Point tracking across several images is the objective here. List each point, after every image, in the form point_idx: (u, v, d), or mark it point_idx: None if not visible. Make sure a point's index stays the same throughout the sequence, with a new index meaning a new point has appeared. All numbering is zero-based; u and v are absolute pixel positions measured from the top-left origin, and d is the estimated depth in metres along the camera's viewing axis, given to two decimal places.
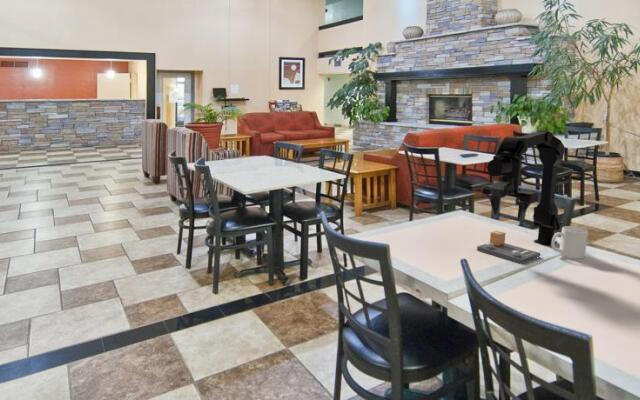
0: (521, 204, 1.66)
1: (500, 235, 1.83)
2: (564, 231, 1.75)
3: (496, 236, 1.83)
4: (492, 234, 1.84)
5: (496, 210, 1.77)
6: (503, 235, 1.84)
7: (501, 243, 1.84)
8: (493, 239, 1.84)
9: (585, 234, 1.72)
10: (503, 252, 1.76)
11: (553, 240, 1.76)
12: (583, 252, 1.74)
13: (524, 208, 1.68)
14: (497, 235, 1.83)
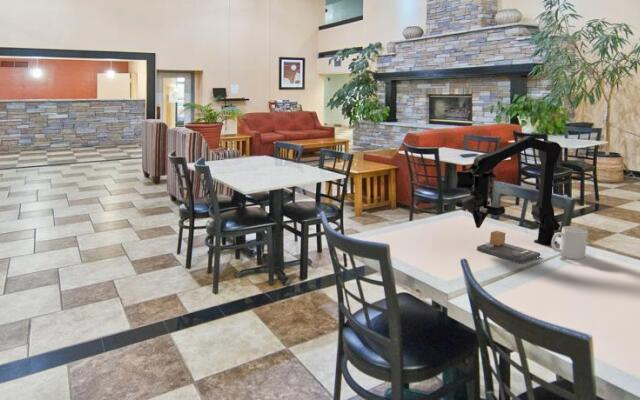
0: (479, 214, 1.87)
1: (500, 235, 1.83)
2: (564, 231, 1.75)
3: (496, 236, 1.83)
4: (492, 234, 1.84)
5: None
6: (503, 235, 1.84)
7: (501, 243, 1.84)
8: (493, 239, 1.84)
9: (585, 234, 1.72)
10: (503, 252, 1.76)
11: (553, 240, 1.76)
12: (583, 252, 1.74)
13: (483, 217, 1.90)
14: (497, 235, 1.83)
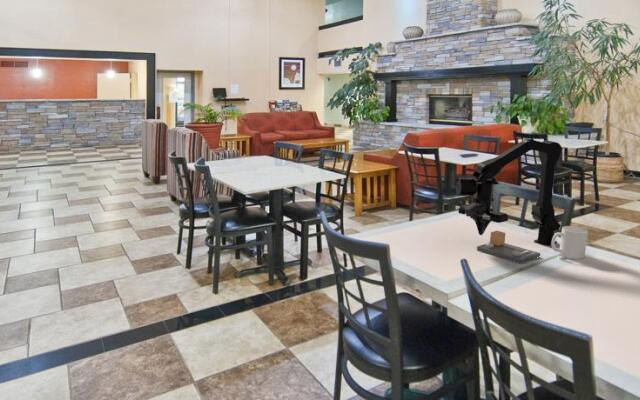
0: (482, 221, 1.87)
1: (500, 235, 1.83)
2: (564, 231, 1.75)
3: (496, 236, 1.83)
4: (492, 234, 1.84)
5: None
6: (503, 235, 1.84)
7: (501, 243, 1.84)
8: (493, 239, 1.84)
9: (585, 234, 1.72)
10: (503, 252, 1.76)
11: (553, 240, 1.76)
12: (583, 252, 1.74)
13: (485, 224, 1.89)
14: (497, 235, 1.83)
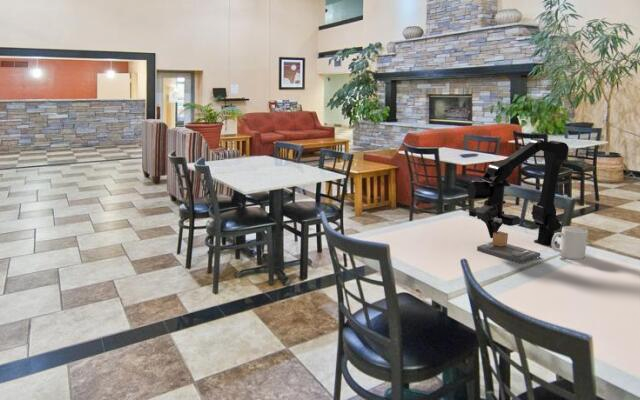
0: (493, 224, 1.83)
1: (503, 236, 1.82)
2: (564, 231, 1.75)
3: (498, 237, 1.82)
4: (494, 235, 1.83)
5: None
6: (506, 236, 1.83)
7: (503, 244, 1.83)
8: (495, 240, 1.83)
9: (585, 234, 1.72)
10: (503, 252, 1.76)
11: (553, 240, 1.76)
12: (583, 252, 1.74)
13: (497, 227, 1.85)
14: (499, 236, 1.82)
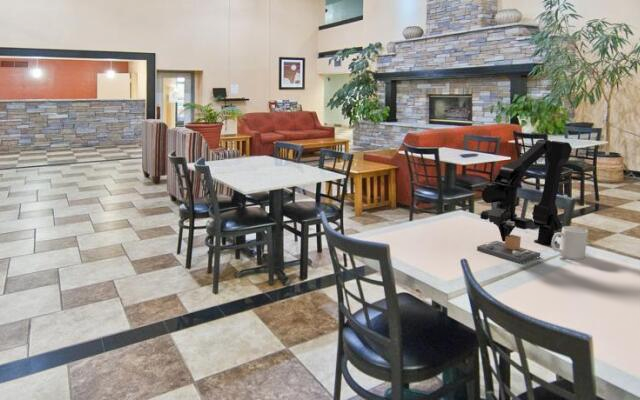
0: (506, 227, 1.79)
1: (515, 239, 1.78)
2: (564, 231, 1.75)
3: (511, 240, 1.78)
4: (507, 238, 1.79)
5: None
6: (518, 239, 1.79)
7: (516, 247, 1.79)
8: (508, 243, 1.79)
9: (585, 234, 1.72)
10: (503, 252, 1.76)
11: (553, 240, 1.76)
12: (583, 252, 1.74)
13: (509, 231, 1.81)
14: (512, 239, 1.78)
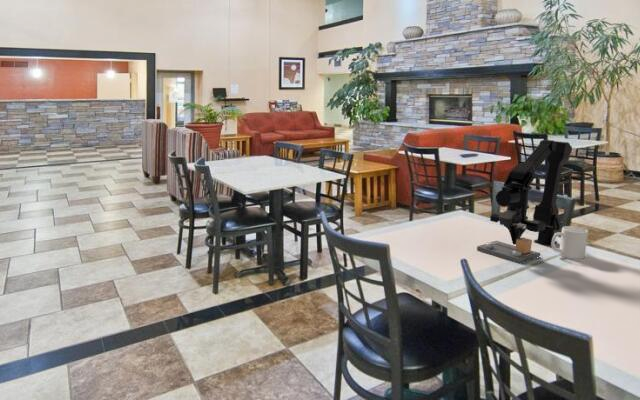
0: (517, 230, 1.75)
1: (526, 242, 1.74)
2: (564, 231, 1.75)
3: (522, 243, 1.75)
4: (518, 241, 1.76)
5: None
6: (529, 242, 1.76)
7: (527, 250, 1.76)
8: (519, 246, 1.76)
9: (585, 234, 1.72)
10: (503, 252, 1.76)
11: (553, 240, 1.76)
12: (583, 252, 1.74)
13: (520, 233, 1.78)
14: (523, 242, 1.74)
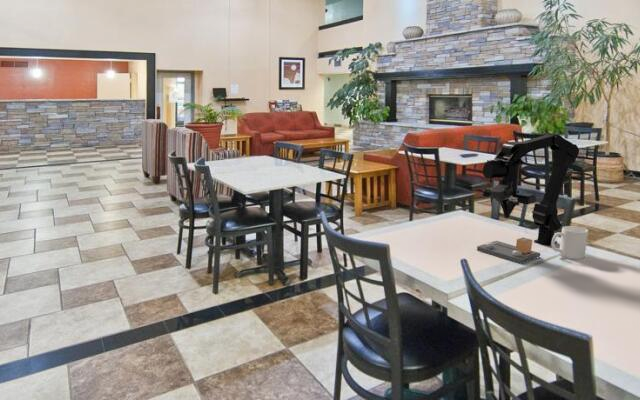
0: (509, 203, 1.80)
1: (527, 242, 1.74)
2: (564, 231, 1.75)
3: (523, 243, 1.75)
4: (518, 241, 1.76)
5: None
6: (530, 242, 1.75)
7: (528, 251, 1.76)
8: (519, 246, 1.76)
9: (585, 234, 1.72)
10: (503, 252, 1.76)
11: (553, 240, 1.76)
12: (583, 252, 1.74)
13: (512, 207, 1.83)
14: (524, 242, 1.74)
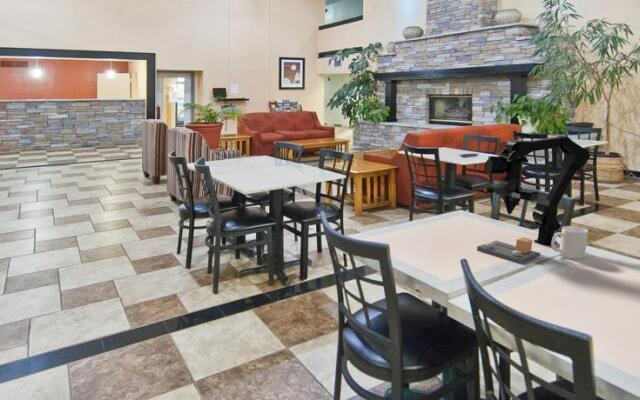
0: (512, 200, 1.84)
1: (527, 242, 1.74)
2: (564, 231, 1.75)
3: (523, 243, 1.75)
4: (518, 241, 1.76)
5: None
6: (530, 242, 1.75)
7: (528, 251, 1.76)
8: (519, 246, 1.76)
9: (585, 234, 1.72)
10: (503, 252, 1.76)
11: (553, 240, 1.76)
12: (583, 252, 1.74)
13: (514, 203, 1.87)
14: (524, 242, 1.74)
